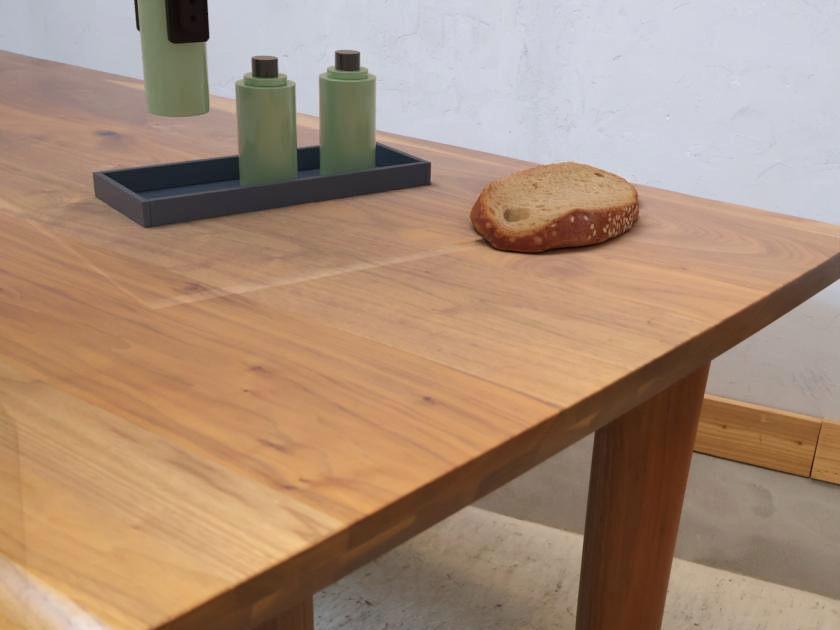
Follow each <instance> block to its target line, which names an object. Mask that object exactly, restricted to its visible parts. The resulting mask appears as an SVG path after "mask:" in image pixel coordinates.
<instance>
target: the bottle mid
mask: <svg viewBox="0 0 840 630" xmlns="http://www.w3.org/2000/svg"><path fill="white" fill-rule="evenodd" d="M250 63H251V72H246V73H244V74H243V76H242V79H238V80H236V81H235V82H234V90H235V91H234V93H235V110H236V112H235V113H236V115H235V116H236V133H237V134H236V135H237V137H236V138H237V155H238V159H239V181H240V187H241V186H248V185H255V184H263V183H270V182H277V181H285V180H292V179H298V157H297V148H298V116H297V83H296V82H295V81H293V80H291V79H288V75H287V74H285V73H282V72H280V71H279V70H280V69H279V58H278V57H277V56H273V55H254V56H251V58H250Z"/></svg>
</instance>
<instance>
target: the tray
mask: <svg viewBox="0 0 840 630" xmlns="http://www.w3.org/2000/svg"><path fill="white" fill-rule="evenodd" d="M297 157H298V179H292V180H285V181H277V182H270V183H263V184H255V185H248V186H241V187H240V181H239V159H238V154H233V155H225V156H217V157H209V158H199V159H192V160H182V161H174V162H166V163H158V164H150V165H142V166H135V167H126V168H116V169H107V170H100V171H92V180H93V190H94V196H95V198H97V199H98V200H99V201H101V202H103V203H104V204H106V205H107V206H109V207H110V208H112V209H113V210H115V211H117V212H118V213H120V214H121V215H123V216H124V217H126V218H128V219H130V221H132V222H134V223H136V224H137V225H139V226H140V227H142V228H144V229H148V228H155V227H162V226H169V225H176V224H181V223H188V222H194V221H202V220H208V219H214V218H221V217H228V216H235V215H241V214H247V213H254V212H261V211H268V210H275V209H280V208H281V209H282V208H288V207H294V206H301V205H309V204H314V203H320V202H326V201H327V202H329V201H332V200H333V201H334V200H335V201H336V200H341V199H346V198H348V199H349V198H353V197H360V196H367V195H368V196H369V195H372V194H373V195H375V194H381V193H388V192H394V191H400V190H405V189H406V190H408V189H413V188H420V187H427V186H431V183H432V180H431V179H432V162H431V161H429V160H426V159H423V158H421V157H418V156H415V155H413V154H410V153H408V152H404V151H402V150H399V149H397V148H394V147H391V146H389V145H386V144H384V143H382V142H379V141H376V167H375V168H372V169H365V170H358V171H350V172H343V173H336V174H328V175H321V176H320V144H316V145H309V146H308V145H307V146H300V147H297Z"/></svg>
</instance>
